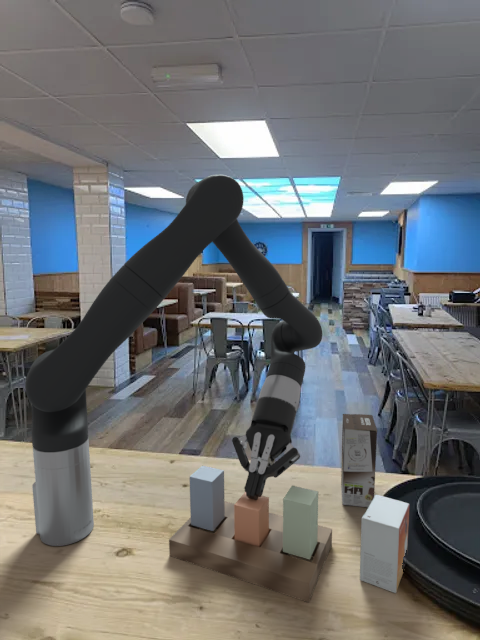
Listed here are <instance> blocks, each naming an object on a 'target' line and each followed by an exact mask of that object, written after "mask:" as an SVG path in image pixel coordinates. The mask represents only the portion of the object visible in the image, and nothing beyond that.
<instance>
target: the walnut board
mask: <svg viewBox="0 0 480 640" xmlns="http://www.w3.org/2000/svg"><path fill="white" fill-rule="evenodd" d="M234 504H235V503H232V502H230V501H225V500H224V505H225V518H224V519H223V520H222V521H221V522H220V524H219V525H218V526H217V527H216V528H215V529H214V530H215V532H214V533H213V532H211V531H210V532H209V531H205V530H204V529H203V530H202V529H201V528H200V527H197V526H193V525H191V516H190V517H189V518H188V519H187V520H186V521H185V522H184V523H183V525H181V527H179V528H178V529H177V531H175V533H174V534H173V535H172V536H171V537H169V539H168V547H169V548H168V549H169V557H172V558H174V559H178V560H181V561H184V562H188V563H190V564H193V565H195V566H199V567H202V568H205V569H208V570H211V571H213V572H217V573H219V574H223V575H226V576H229V577H232V578H235V579H238V580H241V581H243V582H246V583H250V584H253V585H256V586H259V587H261V588H264V589H267V590H271V591H273V592H276V593H280V594H283V595H286V596H289V597H291V598H295V599H298V600H300V601H304V602H307V603H310V601H311V598H312V595H313V593H314V591H315V588H316V586H317V583H318V581H319V578H320V575H321V574H322V570H323V567H324V565H325V563H326V560H327V558H328V555H329V552H330V550H331V547H332V544H333V528H331V527H327V526H323V525H319V524H318V537H317V545H316V547H315V549H314V551H313V554H312V556H311V558H313V559H312V561H308V560H304V559H302V558H301V559H300V558H297V557H295V556H291V555H289V553H286V552H283V515H279V514H276V513H272V512H269V535H268V536H267V538H266V539H265V541H264V542H263V544H262V546H261V547H257V546H254V545H250V544H247V543H244V542H240V541H237V540H235V529H234Z"/></svg>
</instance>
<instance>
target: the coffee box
mask: <svg viewBox="0 0 480 640" xmlns="http://www.w3.org/2000/svg"><path fill="white" fill-rule="evenodd" d="M341 424H342V425H341V426H342V428H341V429H342V430H341V431H342V433H341V435H342V436H341V467H340V468H341V470H340V473H341V476H340V477H341V478H340V479H341V481H340V485H341V486H340V487H341V489H340V490H341V503H342V505H344V506H354V507H363V508H368V507H369V506H370V504H371V502H372V500H373V498H374V496H375V489H376V488H375V486H376V485H375V484H376V464H377V463H376V462H377V461H376V460H377V440H378V435H377V434H378V429H377V425H376V422H375V420H374V416H373V415H372V414H362V413H358V414H357V413H352V414H351V413H343V414H342V423H341Z"/></svg>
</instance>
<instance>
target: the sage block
mask: <svg viewBox="0 0 480 640" xmlns="http://www.w3.org/2000/svg"><path fill="white" fill-rule="evenodd" d="M282 516H283V552H286V553H288V555H294V556H297V557H300V558H303V559H307V560H311V558H312V557H311V556H312V554H313V551H314V549H315V547H316V545H317V537H318V525H319V491H318V490H314V489H309V488H305V487H300V486H296V485H291V486H290V488H289V489H288V491H287V493H286V494H285V495H284V497H283V499H282Z"/></svg>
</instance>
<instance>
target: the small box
mask: <svg viewBox="0 0 480 640" xmlns="http://www.w3.org/2000/svg"><path fill="white" fill-rule="evenodd" d="M410 507H411V506H410V503H408V502H406V501H405V502H404V501H402V500H398V499H394V498H391V497H387V496H383V495H379V494H374V498H373V500H372V502H371V504H370V506H369V507H367V509H366V511H365V512H364V514H363V515H362V517H361V521H360V523H361V527H360V529H361V530H360V559H359V580H360V581H361V582H364V583H367V584H369V585H372V586H375V587H378V588H380V589H384V590H386V591H388V592H391V593H393V594H397V592H398V590H399V586H400V582H401V579H402V577H403V574H404V572H403V569H402V565H403V564H402V563H403V557H404V556H405V553H406V550H407V551H408V540H409V523H410Z"/></svg>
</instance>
